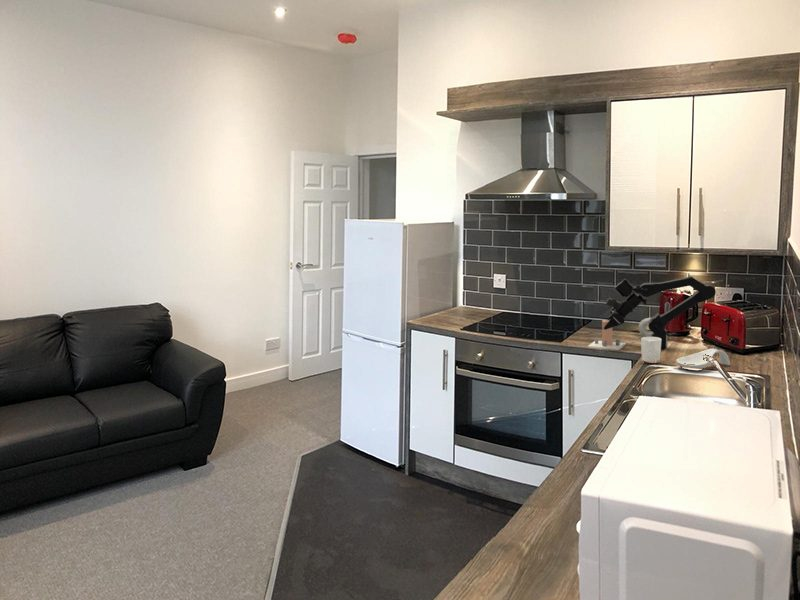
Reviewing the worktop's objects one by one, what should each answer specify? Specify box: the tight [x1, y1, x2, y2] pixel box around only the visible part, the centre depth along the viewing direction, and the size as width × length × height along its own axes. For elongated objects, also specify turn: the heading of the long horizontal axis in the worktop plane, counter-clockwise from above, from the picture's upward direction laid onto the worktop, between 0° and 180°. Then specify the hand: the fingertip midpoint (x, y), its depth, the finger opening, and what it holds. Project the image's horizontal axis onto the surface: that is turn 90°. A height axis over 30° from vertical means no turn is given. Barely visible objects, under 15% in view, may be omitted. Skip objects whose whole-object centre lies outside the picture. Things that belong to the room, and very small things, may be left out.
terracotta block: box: [601, 319, 614, 345], centre depth 290 cm, size 5×5×11 cm
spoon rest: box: [675, 348, 731, 369], centre depth 247 cm, size 24×12×7 cm, turn 113°
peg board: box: [587, 337, 627, 351], centre depth 291 cm, size 14×14×3 cm
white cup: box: [640, 336, 662, 361], centre depth 258 cm, size 8×8×10 cm
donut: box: [638, 317, 654, 337], centre depth 306 cm, size 10×4×10 cm, turn 64°
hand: (604, 327), depth 291 cm, fingers open, 9 cm apart
